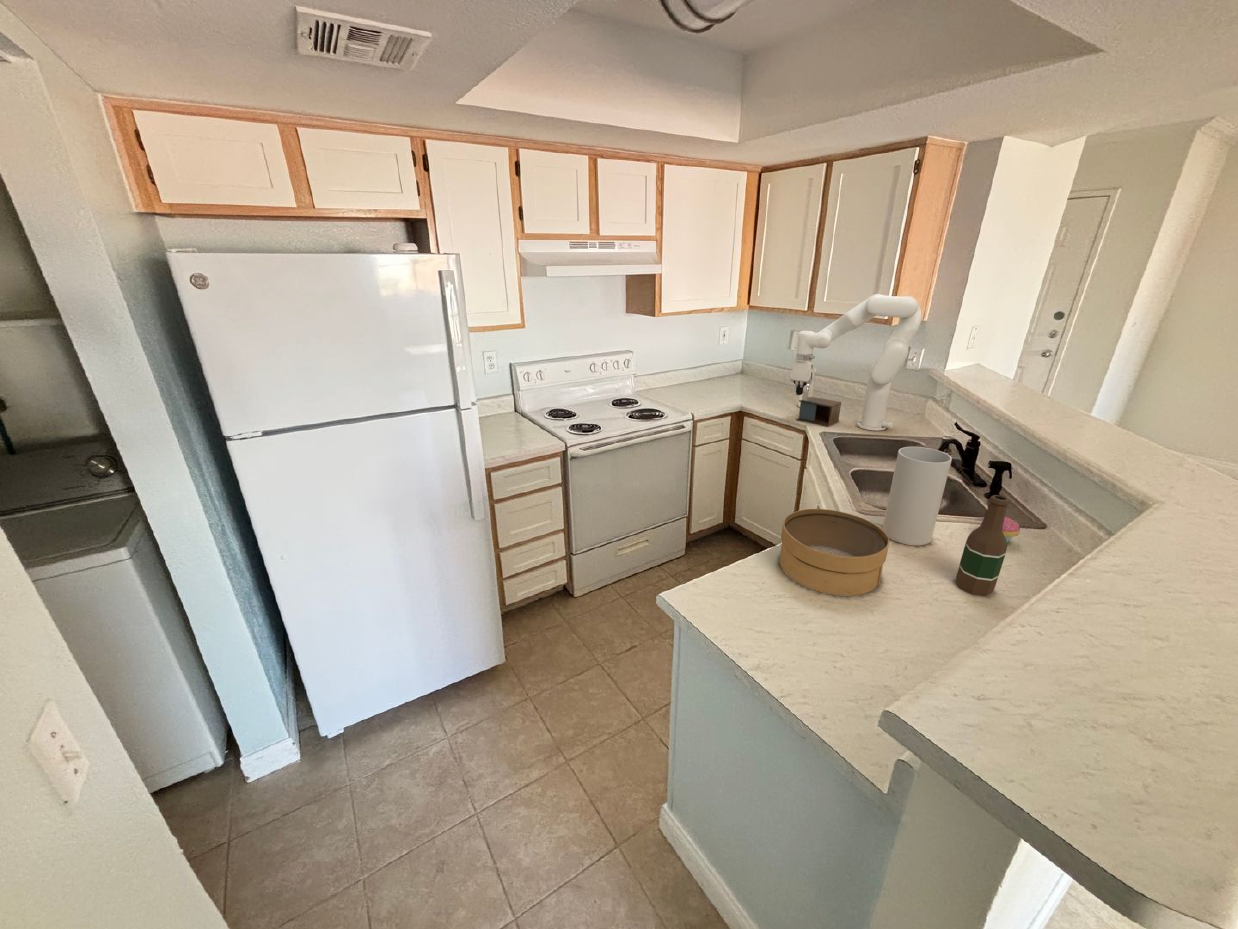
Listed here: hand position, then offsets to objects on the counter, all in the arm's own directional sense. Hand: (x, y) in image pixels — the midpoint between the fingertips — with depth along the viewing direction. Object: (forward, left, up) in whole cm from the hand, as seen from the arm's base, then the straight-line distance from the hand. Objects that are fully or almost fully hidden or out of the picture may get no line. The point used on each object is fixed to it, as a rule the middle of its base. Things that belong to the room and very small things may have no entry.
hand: (799, 394), depth 248 cm
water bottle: (+8, -25, -13) cm, 29 cm away
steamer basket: (-71, +118, -13) cm, 138 cm away
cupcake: (-98, +71, -13) cm, 122 cm away
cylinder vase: (-79, +86, -13) cm, 118 cm away
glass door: (-6, 0, -12) cm, 13 cm away
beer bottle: (-99, +101, -13) cm, 142 cm away
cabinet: (-9, -6, -13) cm, 17 cm away
